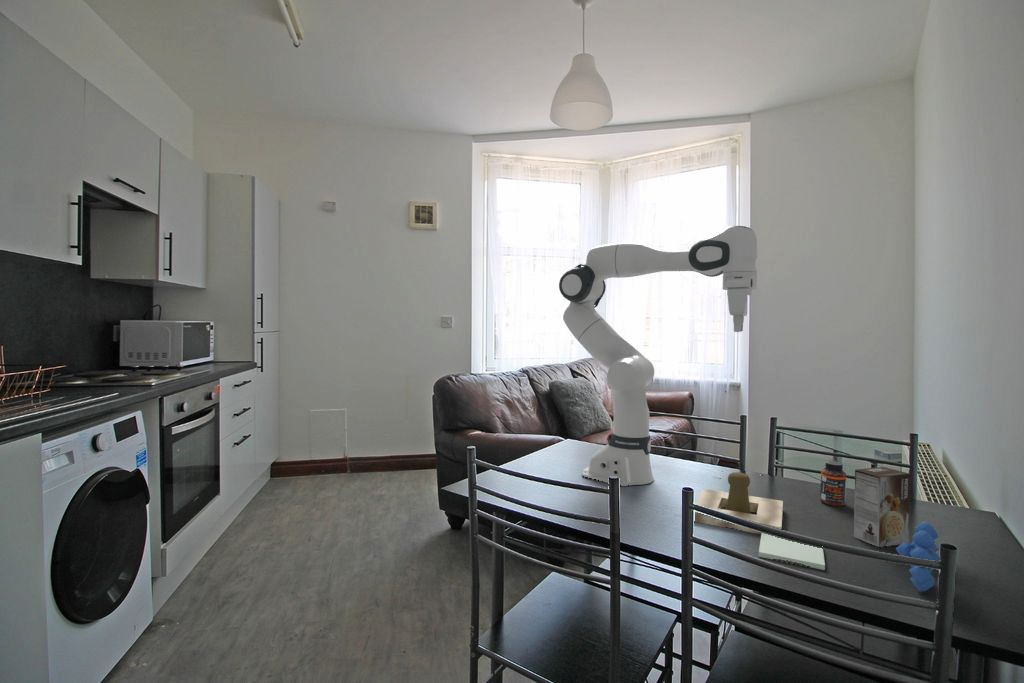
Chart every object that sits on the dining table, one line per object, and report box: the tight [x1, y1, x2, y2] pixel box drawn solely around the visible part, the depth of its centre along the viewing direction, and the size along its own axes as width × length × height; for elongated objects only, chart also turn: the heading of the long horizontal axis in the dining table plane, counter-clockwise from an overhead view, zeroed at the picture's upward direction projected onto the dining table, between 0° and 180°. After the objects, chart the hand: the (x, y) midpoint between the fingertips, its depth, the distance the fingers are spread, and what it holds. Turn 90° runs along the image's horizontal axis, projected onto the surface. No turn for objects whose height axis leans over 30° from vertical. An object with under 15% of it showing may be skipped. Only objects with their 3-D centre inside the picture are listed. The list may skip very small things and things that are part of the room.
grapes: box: [895, 521, 941, 593], centre depth 96 cm, size 12×7×12 cm, turn 135°
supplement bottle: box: [819, 460, 847, 507], centre depth 140 cm, size 6×6×11 cm
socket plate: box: [694, 488, 784, 535], centre depth 130 cm, size 20×20×2 cm
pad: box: [758, 533, 826, 571], centre depth 110 cm, size 12×12×1 cm
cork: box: [725, 471, 752, 514], centre depth 130 cm, size 6×6×11 cm
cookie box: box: [853, 466, 911, 548], centre depth 116 cm, size 9×6×16 cm
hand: (738, 331), depth 144 cm, fingers open, 8 cm apart
